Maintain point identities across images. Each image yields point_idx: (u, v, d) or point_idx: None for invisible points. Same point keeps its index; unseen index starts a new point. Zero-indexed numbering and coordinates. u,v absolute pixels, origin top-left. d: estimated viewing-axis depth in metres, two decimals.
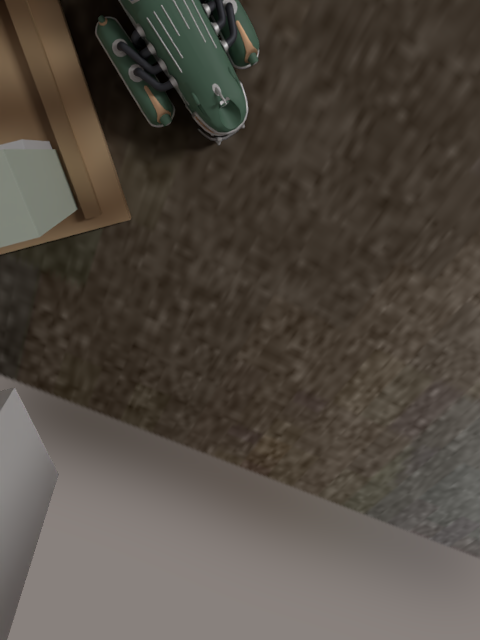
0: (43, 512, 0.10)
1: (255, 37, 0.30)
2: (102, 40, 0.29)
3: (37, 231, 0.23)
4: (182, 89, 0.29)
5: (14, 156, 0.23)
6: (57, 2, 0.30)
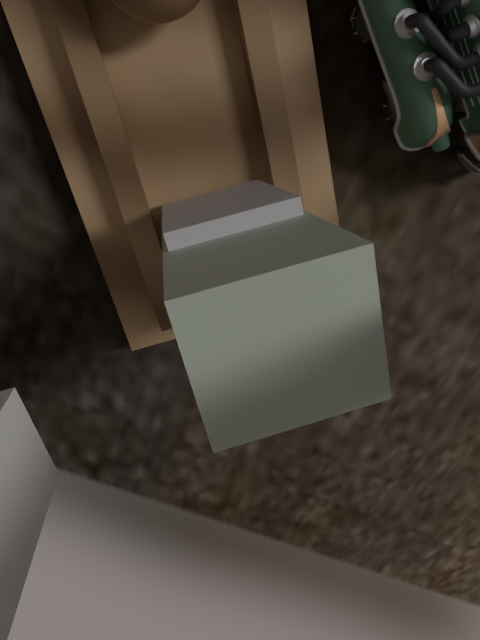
0: (43, 512, 0.10)
1: None
2: (375, 10, 0.18)
3: (389, 389, 0.12)
4: None
5: None
6: None
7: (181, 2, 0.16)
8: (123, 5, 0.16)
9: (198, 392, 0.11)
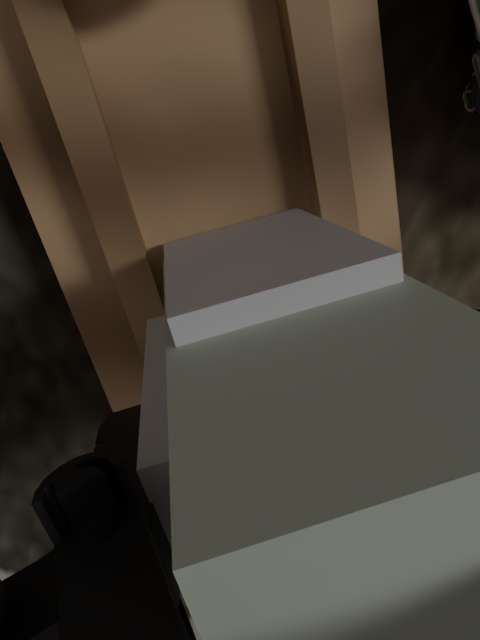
0: None
1: None
2: None
3: None
4: None
5: None
6: None
7: None
8: None
9: None
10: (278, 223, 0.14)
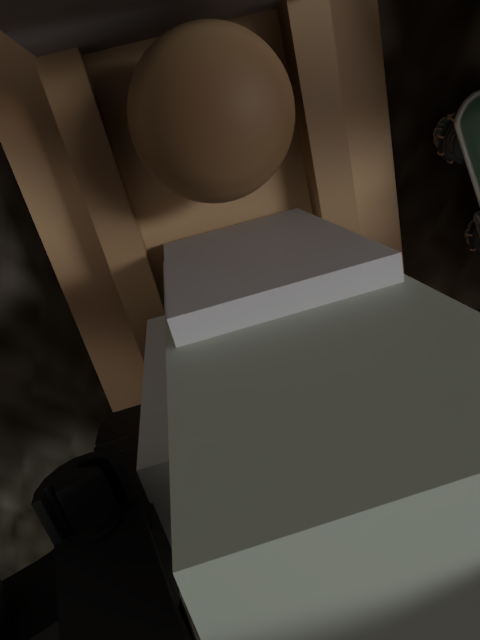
0: None
1: None
2: None
3: None
4: None
5: None
6: (385, 101, 0.15)
7: (251, 189, 0.12)
8: (174, 191, 0.12)
9: None
10: (278, 223, 0.13)
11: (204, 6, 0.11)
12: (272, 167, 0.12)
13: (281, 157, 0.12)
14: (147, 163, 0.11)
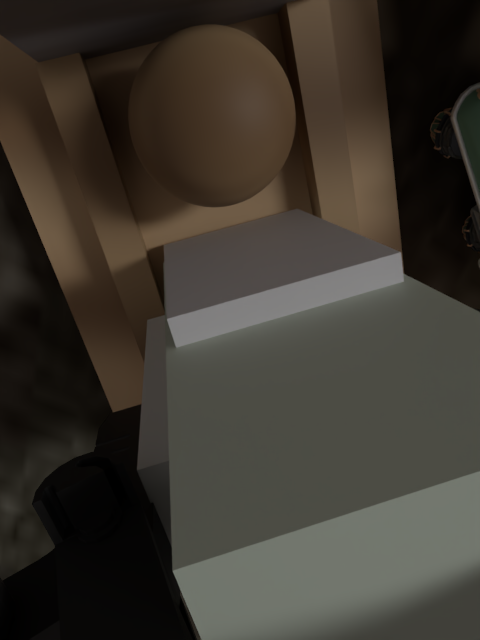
0: None
1: None
2: (477, 133, 0.13)
3: None
4: None
5: None
6: (385, 104, 0.15)
7: (252, 193, 0.12)
8: (175, 195, 0.12)
9: None
10: (278, 224, 0.14)
11: (205, 12, 0.11)
12: (273, 171, 0.12)
13: (282, 161, 0.12)
14: (148, 167, 0.11)
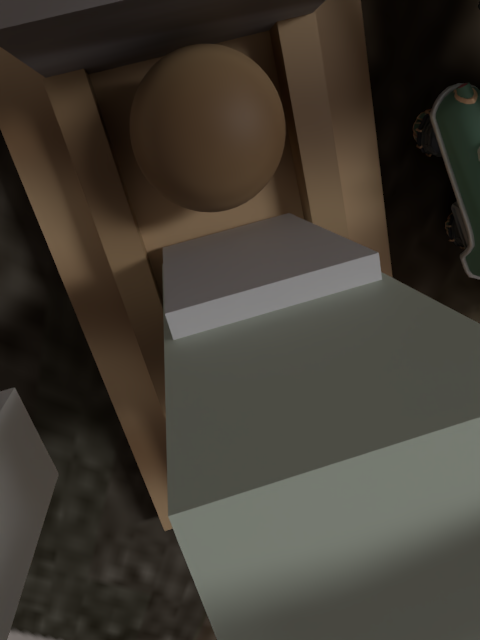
0: (43, 512, 0.10)
1: None
2: (454, 132, 0.14)
3: None
4: None
5: None
6: (372, 115, 0.16)
7: (244, 199, 0.13)
8: (173, 201, 0.13)
9: None
10: (270, 227, 0.14)
11: (201, 31, 0.12)
12: (264, 179, 0.12)
13: (272, 169, 0.12)
14: (148, 175, 0.12)
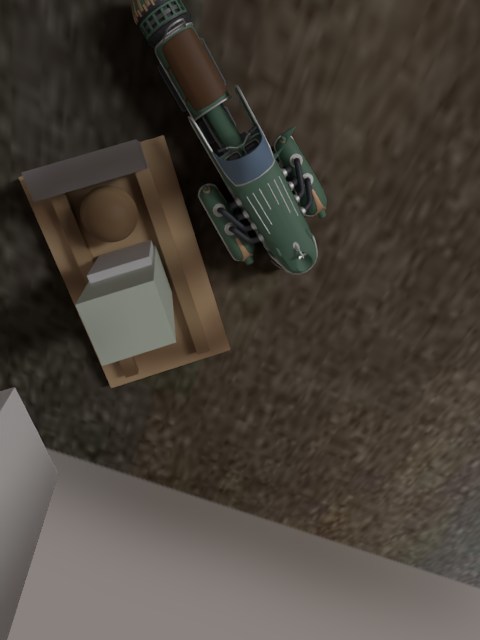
0: (43, 512, 0.10)
1: (325, 199, 0.38)
2: (204, 203, 0.37)
3: (174, 338, 0.29)
4: (267, 243, 0.37)
5: (155, 280, 0.29)
6: (182, 199, 0.38)
7: (123, 238, 0.35)
8: None
9: (92, 340, 0.28)
10: (138, 246, 0.37)
11: None
12: (128, 230, 0.35)
13: (131, 227, 0.35)
14: None
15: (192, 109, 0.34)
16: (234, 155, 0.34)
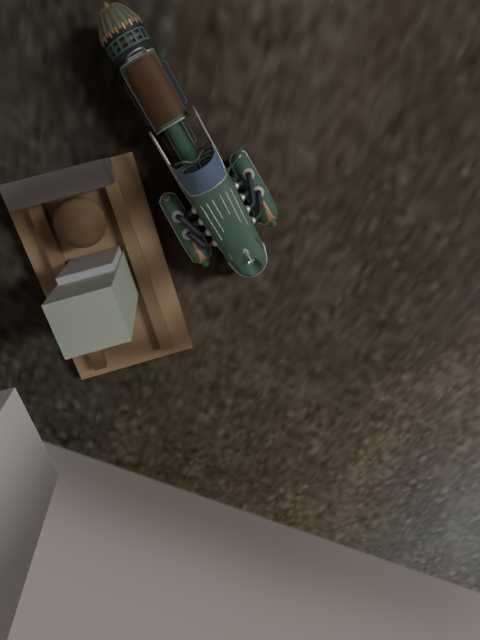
0: (43, 512, 0.10)
1: (275, 209, 0.42)
2: (164, 209, 0.40)
3: (130, 337, 0.33)
4: (220, 248, 0.40)
5: (114, 285, 0.33)
6: (149, 209, 0.42)
7: (91, 244, 0.39)
8: (68, 244, 0.39)
9: (56, 336, 0.32)
10: (106, 252, 0.41)
11: None
12: (96, 238, 0.39)
13: (99, 235, 0.39)
14: (59, 237, 0.39)
15: (153, 125, 0.37)
16: (190, 168, 0.38)
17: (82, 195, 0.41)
